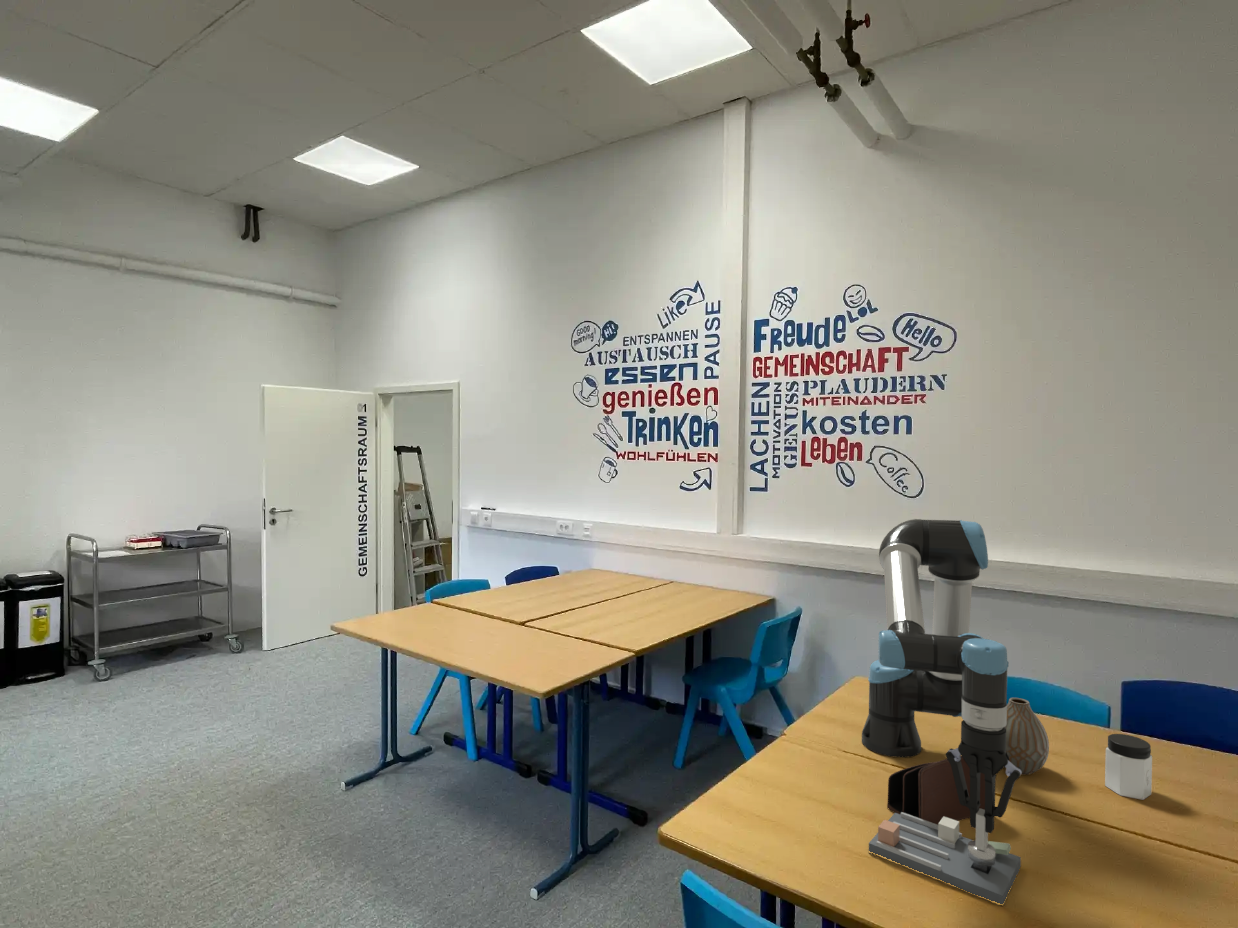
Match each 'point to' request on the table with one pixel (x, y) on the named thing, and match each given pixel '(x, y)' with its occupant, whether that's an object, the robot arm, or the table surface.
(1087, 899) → the table surface
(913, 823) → the panel
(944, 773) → the letter holder
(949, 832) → the slider ivory
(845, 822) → the table surface
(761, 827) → the table surface
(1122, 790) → the jar
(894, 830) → the slider terracotta
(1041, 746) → the vase
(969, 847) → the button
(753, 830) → the table surface
